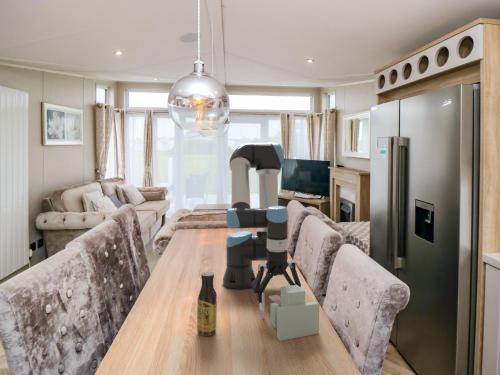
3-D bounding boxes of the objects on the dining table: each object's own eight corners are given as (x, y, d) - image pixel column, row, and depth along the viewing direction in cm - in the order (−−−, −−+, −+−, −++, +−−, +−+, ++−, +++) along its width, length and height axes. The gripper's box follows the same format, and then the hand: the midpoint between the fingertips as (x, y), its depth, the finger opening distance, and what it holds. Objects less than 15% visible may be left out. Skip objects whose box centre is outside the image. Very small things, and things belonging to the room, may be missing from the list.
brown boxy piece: (268, 311, 132) (268, 294, 131) (277, 310, 133) (278, 293, 132) (280, 326, 120) (280, 307, 120) (291, 324, 122) (291, 306, 121)
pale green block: (265, 324, 121) (265, 284, 120) (301, 317, 126) (301, 279, 125) (279, 340, 110) (279, 297, 109) (318, 333, 115) (319, 291, 114)
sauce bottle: (193, 333, 115) (192, 273, 114) (206, 326, 120) (206, 269, 119) (207, 339, 111) (206, 278, 110) (221, 331, 116) (220, 272, 115)
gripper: (249, 255, 120) (250, 317, 122) (311, 249, 128) (310, 307, 130) (242, 249, 127) (243, 308, 129) (301, 244, 135) (300, 299, 137)
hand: (276, 308), depth 129 cm, fingers open, 11 cm apart
